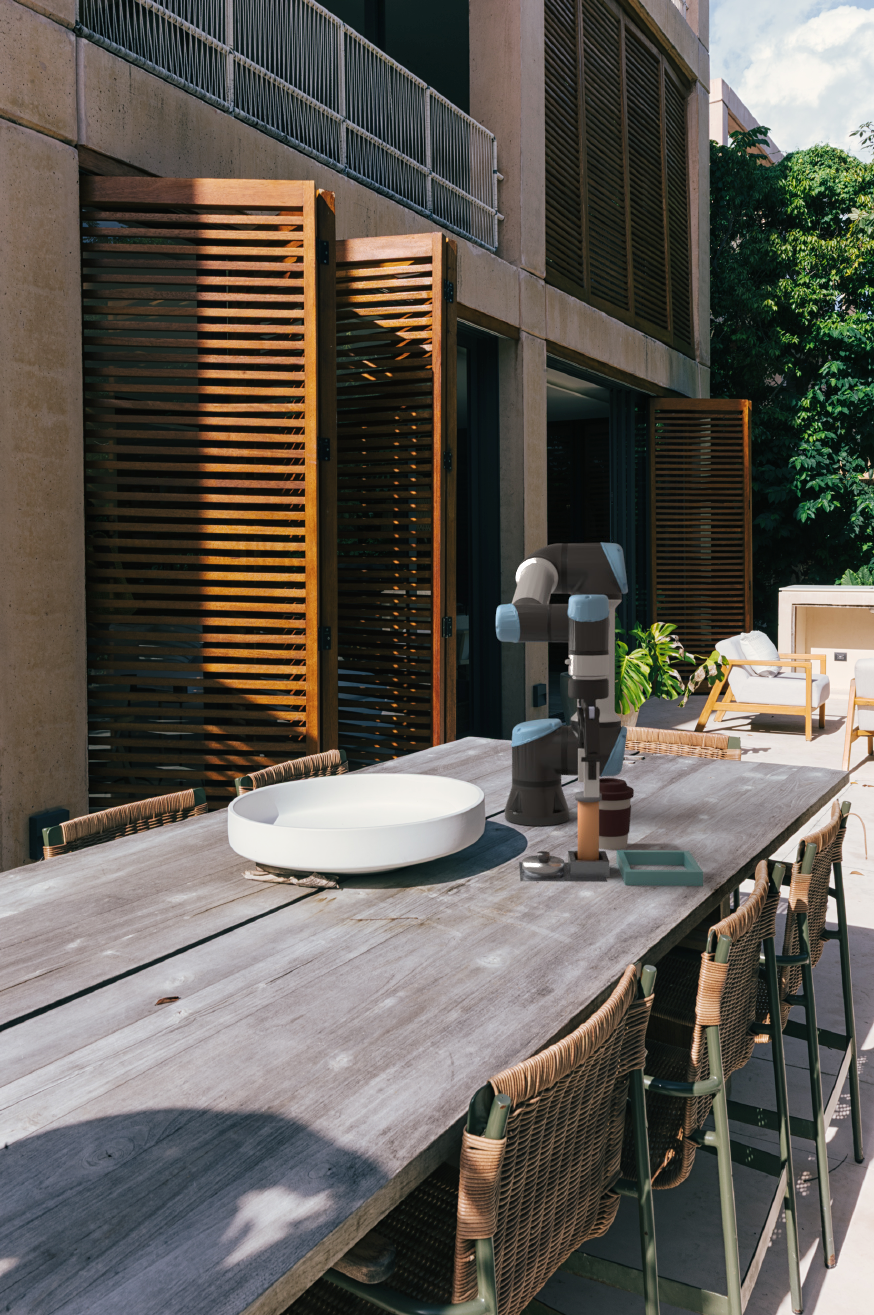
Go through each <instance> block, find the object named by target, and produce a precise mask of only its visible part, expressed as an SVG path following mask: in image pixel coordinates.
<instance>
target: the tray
mask: <svg viewBox="0 0 874 1315" xmlns="http://www.w3.org/2000/svg"><path fill="white" fill-rule="evenodd" d="M615 856H616V858H615V859H616V861H615V862H616V865H617V867H618V871H619V873H620V875H621V876H620V877H621V879H622V880H623V883H624V885H625V886H664V887H665V886H676V887H677V886H678V887H679V886H681V887H685V886H686V887H687V886H690V887H692V886H693V887H694V886H697V887H699V886H700V887H703V886H704V871H703V869H702V868H701V866H700V865H699V863H698V862H697V861H696V859H695V857H694V856H693V854H692V853H691V852H690V850H683V849H682V850H679V849H678V850H675V849H674V850H669V849H668V850H666V849H665V850H660V849H659V850H657V849H654V850H652V849H651V850H649V849H648V850H644V849H640V850H639V849H637V850H636V849H628V850H626V849H617V850H616V855H615ZM631 866H683V867H684V869H631Z"/></svg>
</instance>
